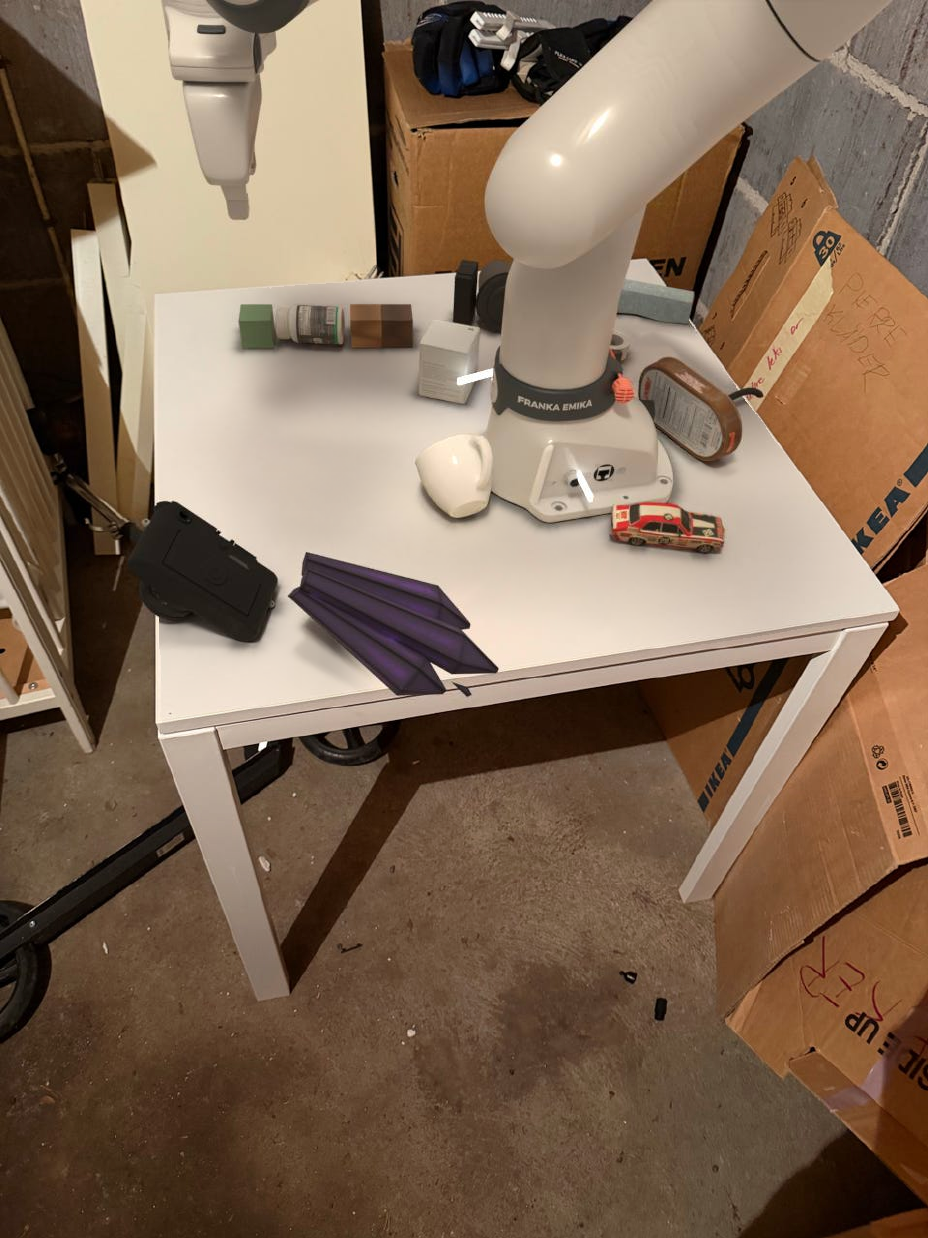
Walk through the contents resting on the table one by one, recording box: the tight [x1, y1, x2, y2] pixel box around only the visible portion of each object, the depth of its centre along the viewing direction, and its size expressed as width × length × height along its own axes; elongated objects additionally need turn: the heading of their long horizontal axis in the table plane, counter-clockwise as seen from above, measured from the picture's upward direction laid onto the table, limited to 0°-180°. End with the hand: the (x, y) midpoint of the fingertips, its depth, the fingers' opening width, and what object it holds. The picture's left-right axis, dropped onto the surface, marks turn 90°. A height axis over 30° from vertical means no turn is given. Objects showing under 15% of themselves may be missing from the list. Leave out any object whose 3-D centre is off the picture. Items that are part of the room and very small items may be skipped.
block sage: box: [238, 303, 276, 349], centre depth 114 cm, size 4×4×4 cm
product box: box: [418, 318, 481, 405], centre depth 108 cm, size 6×6×7 cm
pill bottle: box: [274, 303, 346, 345], centre depth 115 cm, size 5×5×8 cm
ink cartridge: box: [452, 259, 479, 326], centre depth 118 cm, size 5×2×8 cm, turn 168°
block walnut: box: [380, 303, 414, 349], centre depth 116 cm, size 4×4×4 cm
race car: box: [610, 502, 726, 555], centre depth 93 cm, size 5×12×5 cm, turn 79°
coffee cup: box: [475, 259, 512, 333], centre depth 120 cm, size 8×8×10 cm
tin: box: [637, 356, 743, 462], centre depth 103 cm, size 15×3×8 cm, turn 34°
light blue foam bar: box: [617, 278, 696, 325], centre depth 126 cm, size 23×7×3 cm
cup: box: [414, 433, 493, 519], centre depth 93 cm, size 8×10×7 cm
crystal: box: [287, 551, 500, 698], centre depth 80 cm, size 7×12×20 cm
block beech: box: [349, 303, 382, 349], centre depth 116 cm, size 4×4×4 cm
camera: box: [126, 500, 279, 642], centre depth 82 cm, size 14×7×8 cm
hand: (243, 193), depth 83 cm, fingers open, 8 cm apart
